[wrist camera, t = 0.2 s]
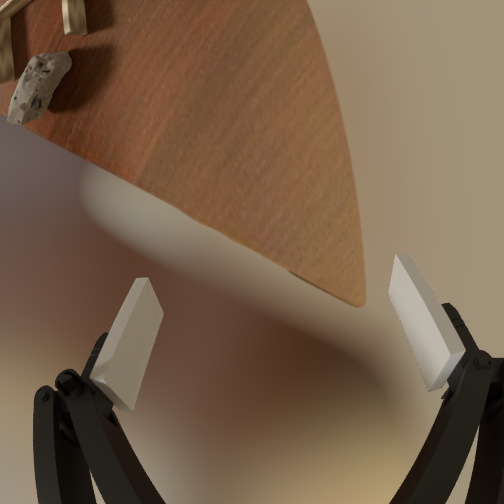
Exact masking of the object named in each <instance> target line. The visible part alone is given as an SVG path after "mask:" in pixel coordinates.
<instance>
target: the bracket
mask: <svg viewBox="0 0 504 504" xmlns="http://www.w3.org/2000/svg"><path fill="white" fill-rule="evenodd" d="M31 1H32V0H8V1H7V2H6V3H5V4H4V5H2V6H1V7H0V84H3V83H7V82H12V81H14V80H15V79H16V78H15V71H14V63H13V54H12V42H11V22H10V18H11V17H12V16H13V15H14V14H16V13H17V12H18V11H19V10H20V9H22V8H23V7H24V6H25V5H27V4H28V3H29V2H31ZM62 9H63V21H64V30H65V34H67V35H77V36H84V35H86V34H88V31H87V24H86V15H85V6H84V0H62Z"/></svg>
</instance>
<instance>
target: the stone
mask: <svg viewBox="0 0 504 504" xmlns="http://www.w3.org/2000/svg"><path fill="white" fill-rule="evenodd" d="M71 65H72V60H71V58H70V57H69V54H68V52H67V51H64V52H54V53H50V54H47V53H42V54H40V55H36V56H34V57H33V58H32V59H31V60H30V61H29V63H28V66H27V67H26V69H25V70H24V72H23V74H22V76H21V78H20V79H19V83H18V86H17V88H16V90H15V92H14V94H13V96H12V99H11V102H10V108H9V111H8V113H9V114H8V118H7V121H8V122H9V123H11V124H18V125H23V124H26V123H28V122H30V121H33V120H35V119H38V118H41V117H42V116H43V114H44V113H45V111H46V109H47V106H48V105H49V104H50V100H51V98H52V94H53V92H54V90H55V89H56V87H57V86H58V84H59V83H60V81H61V79H62V78H63V76H64V75H65V73H66V72H68V71H69V70H70V68H71Z"/></svg>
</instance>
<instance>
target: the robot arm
mask: <svg viewBox="0 0 504 504" xmlns="http://www.w3.org/2000/svg"><path fill="white" fill-rule="evenodd" d="M388 295H389V297H390V299H391V301H392V303H393V305H394V308H395V310H396V312H397V314H398V317H399V319H400V321H401V324H402V326H403V328H404V330H405V333H406V335H407V338H408V340H409V343H410V345H411V348H412V350H413V353H414V355H415V358H416V360H417V363H418V366H419V368H420V371H421V374H422V376H423V379H424V382H425V385H426V388H427V391H428V392H429V391H432V390H436V389H439V388H442V387H443V385H444V384H445V383H446V381H447V382H448V384H449V388H448V389H447V391H446V392H445V393H444V395H443V396H442V398H441V399H443V398H444V400H443V402H442V405H441V407H440V410H439V412H438V415H437V417H436V419H435V422H434V424H433V426H432V428H431V430H430V433H429V435H428V437H427V439H426V441H425V443H424V445H423V447H422V449H421V451H420V453H419V455H418V457H417V459H416V461H415V463H414V464H413V466H412V468H411V470H410V471H409V473H408V475H407V476H406V478H405V480H404V481H403V483H402V485H401V486H400V488H399V489H398V491H397V493H396V494H395V496H394V497H393V499H392V500H391V502H390V503H389V504H445V503H446V501H447V499H448V498H449V496H450V494H451V492H452V490H453V488H454V486H455V484H456V482H457V480H458V477H459V475H460V473H461V471H462V469H463V466H464V464H465V461H466V459H467V456H468V454H469V451H470V449H471V446H472V444H473V441H474V437H475V435H476V432H477V429H478V426H479V433H478V441H477V449H476V455H475V461H474V466H473V472H472V476H471V481H470V485H469V489H468V493H467V497H466V501H465V504H504V358H492V357H491V356H490V355H489V354H488V353H487V352H485V351H482V350H479V348H478V347H477V345H476V343H475V341H474V339H473V337H472V336H471V334H470V332H469V331H468V328H467V327H466V326H465V323H464V321H463V320H462V319H461V316H460V315H459V313H458V311H457V310H456V309H455V308H454V307H453V306H452V305H451V304H450V303H444V304H441V303H440V302H439V300H438V298H437V297H436V295H435V293H434V292H433V290H432V288H431V287H430V285H429V284H428V282H427V280H426V279H425V277H424V276H423V274H422V273H421V271H420V269H419V268H418V266H417V265H416V263H415V262H414V261H413V259H412V258H411V256H410V255H409V253H398V254H395V260H394V266H393V272H392V277H391V283H390V288H389V292H388ZM163 315H164V313H163V311H162V308H161V306H160V304H159V302H158V299H157V297H156V295H155V293H154V291H153V288H152V285H151V283H150V281H149V278H136V280H135V282H134V284H133V285H132V287H131V289H130V291H129V293H128V295H127V297H126V299H125V301H124V303H123V305H122V307H121V309H120V311H119V313H118V315H117V317H116V319H115V321H114V323H113V326H112V328H111V330H110V332H109V333H103V334H102V335H101V336H100V337H99V339H98V340H97V342H96V344H95V346H94V350H92V352H91V356H90V357H89V359H88V361H87V363H86V366H85V368H84V370H83V372H82V375H81V377H80V376H79V374H78V373H77V372H76V371H74V370H73V369H67V370H64V371H62V372H61V373H60V374H59V375H58V376H57V378H56V381H55V387H56V388H57V389H58V390H59V391H54V390H53V389H52V388H51V387H50V386H48V385H46V386H42V387H41V388H40V389H39V390H37V392H36V394H35V397H34V413H33V450H34V469H35V480H36V489H37V497H38V503H39V504H97V503H96V499H95V494H94V490H93V486H92V480H91V475H90V471H91V473H92V476H93V478H94V481H95V482H96V485H97V487H98V489H99V491H100V493H101V495H102V498H103V500H104V502H105V503H106V504H166V503H165V502H164V500H163V499H162V497H161V496H160V494H159V493H158V491H157V490H156V488H155V487H154V485H153V484H152V482H151V480H150V479H149V477H148V475H147V474H146V472H145V471H144V469H143V467H142V465H141V464H140V462H139V460H138V458H137V456H136V455H135V453H134V451H133V449H132V447H131V445H130V443H129V441H128V440H127V437H126V436H125V433H124V431H123V430H122V427H121V425H120V423H119V421H118V419H117V417H116V415H115V413H114V411H113V410H112V407H113V404H115V406H116V407H117V408H118V409H119V410H125V411H132V412H133V410H134V406H135V403H136V399H137V396H138V392H139V389H140V385H141V382H142V379H143V376H144V373H145V370H146V366H147V363H148V359H149V357H150V354H151V350H152V348H153V345H154V342H155V338H156V336H157V332H158V329H159V327H160V324H161V321H162V318H163ZM479 423H480V424H479ZM89 469H90V470H89Z"/></svg>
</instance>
